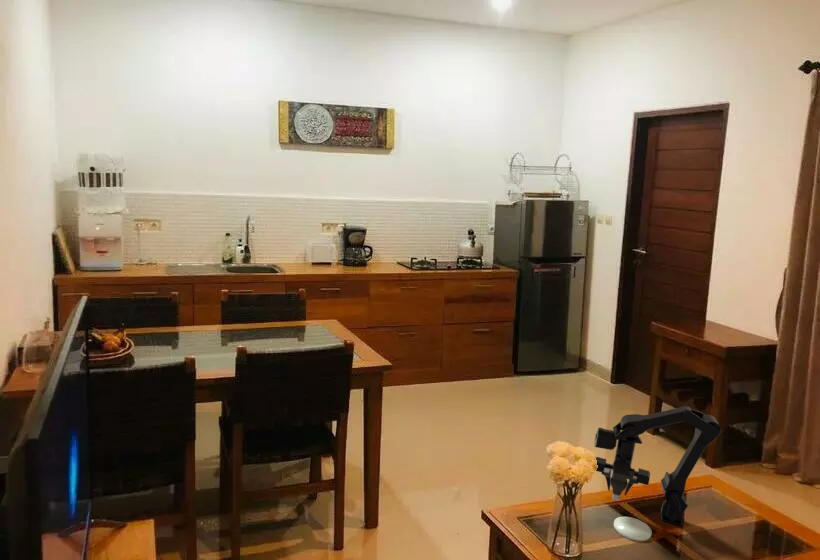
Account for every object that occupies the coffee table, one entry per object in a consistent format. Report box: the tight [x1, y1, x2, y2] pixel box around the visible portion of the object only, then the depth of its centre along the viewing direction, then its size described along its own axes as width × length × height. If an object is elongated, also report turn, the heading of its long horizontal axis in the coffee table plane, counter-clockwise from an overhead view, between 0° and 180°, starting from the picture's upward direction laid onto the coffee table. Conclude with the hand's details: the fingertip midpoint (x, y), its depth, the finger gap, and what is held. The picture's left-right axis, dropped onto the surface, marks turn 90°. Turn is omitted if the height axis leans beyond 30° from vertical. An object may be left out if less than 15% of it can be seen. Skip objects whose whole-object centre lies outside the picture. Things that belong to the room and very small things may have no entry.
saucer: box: [613, 516, 653, 542], centre depth 219 cm, size 12×12×1 cm
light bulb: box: [610, 477, 628, 502], centre depth 230 cm, size 6×6×10 cm
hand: (616, 492), depth 230 cm, fingers closed on light bulb, 5 cm apart
